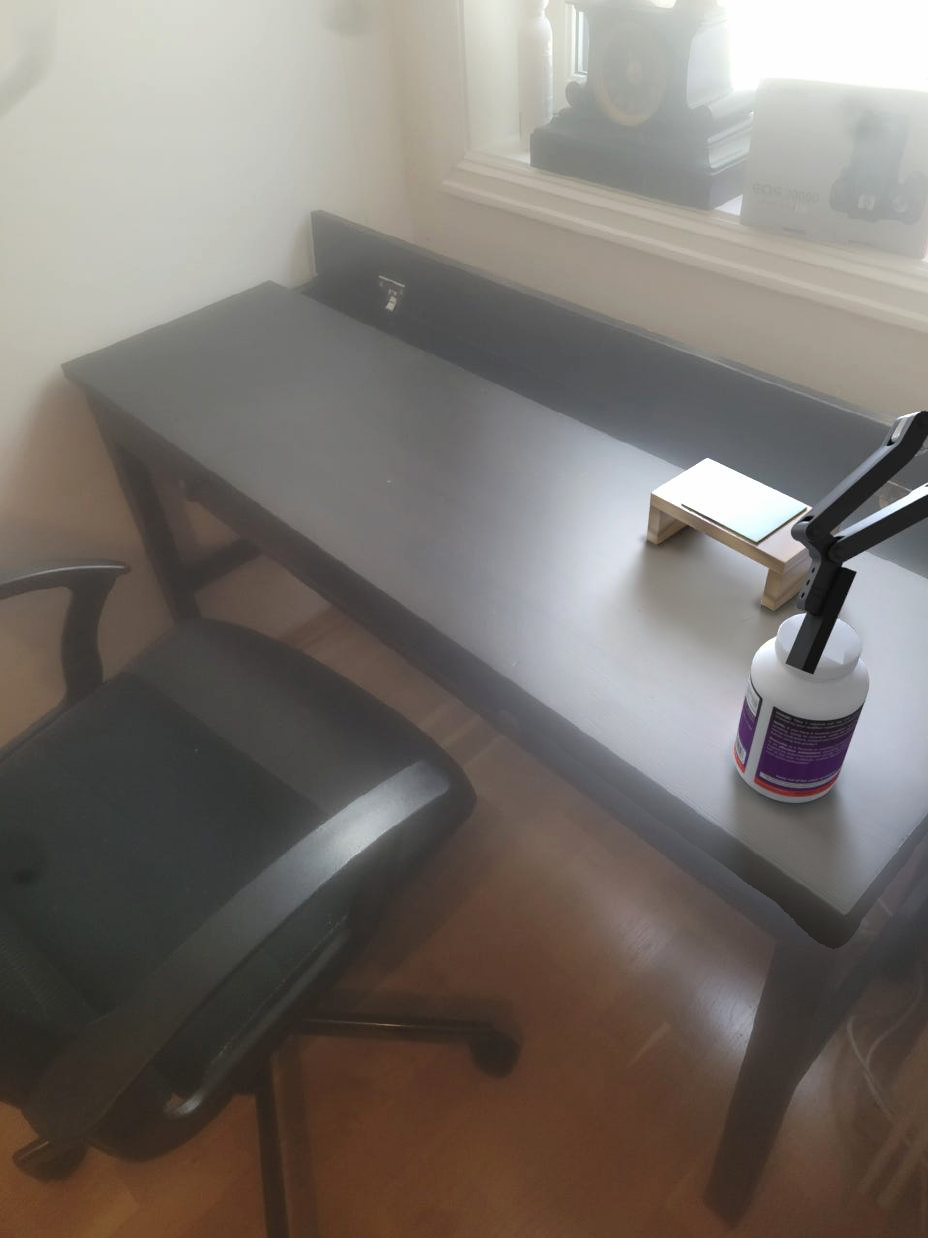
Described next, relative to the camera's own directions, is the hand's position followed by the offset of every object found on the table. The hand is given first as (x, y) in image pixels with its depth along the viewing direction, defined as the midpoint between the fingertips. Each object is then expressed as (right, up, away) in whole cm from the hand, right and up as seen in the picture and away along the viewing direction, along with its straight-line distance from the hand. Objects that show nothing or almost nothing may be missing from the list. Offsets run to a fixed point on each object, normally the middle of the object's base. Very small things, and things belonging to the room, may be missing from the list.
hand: (902, 709), depth 52 cm
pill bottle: (-1, -7, +17) cm, 18 cm away
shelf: (+1, +12, +37) cm, 39 cm away
